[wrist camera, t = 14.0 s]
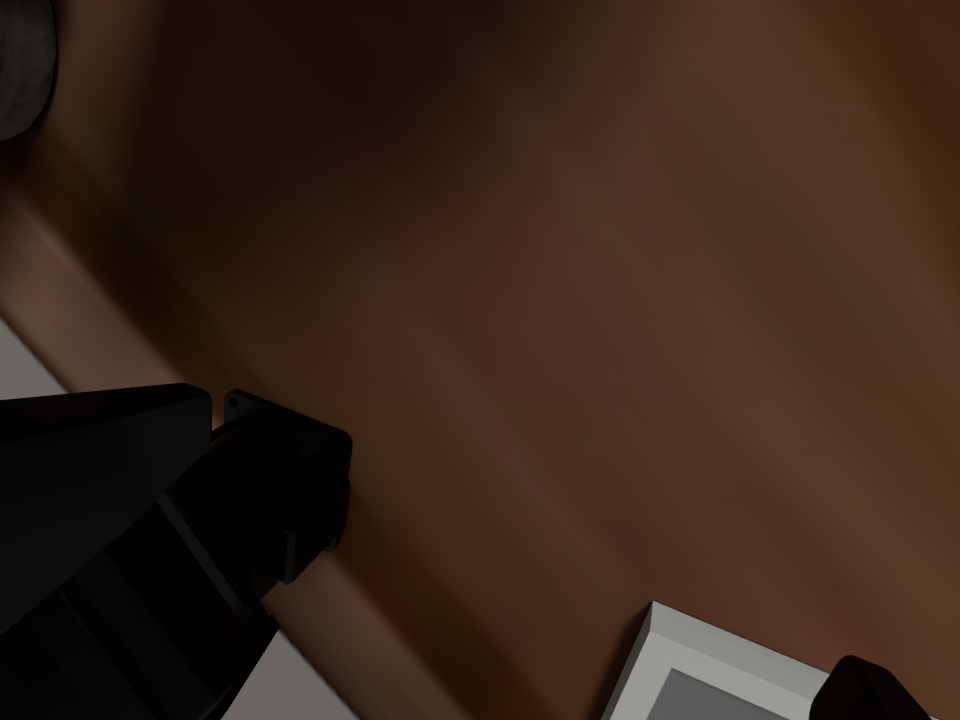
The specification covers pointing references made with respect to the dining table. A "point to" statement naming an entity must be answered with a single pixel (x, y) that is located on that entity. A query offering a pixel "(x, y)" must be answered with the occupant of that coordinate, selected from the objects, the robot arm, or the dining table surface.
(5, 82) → the beer stein
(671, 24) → the dining table surface
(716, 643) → the tray
